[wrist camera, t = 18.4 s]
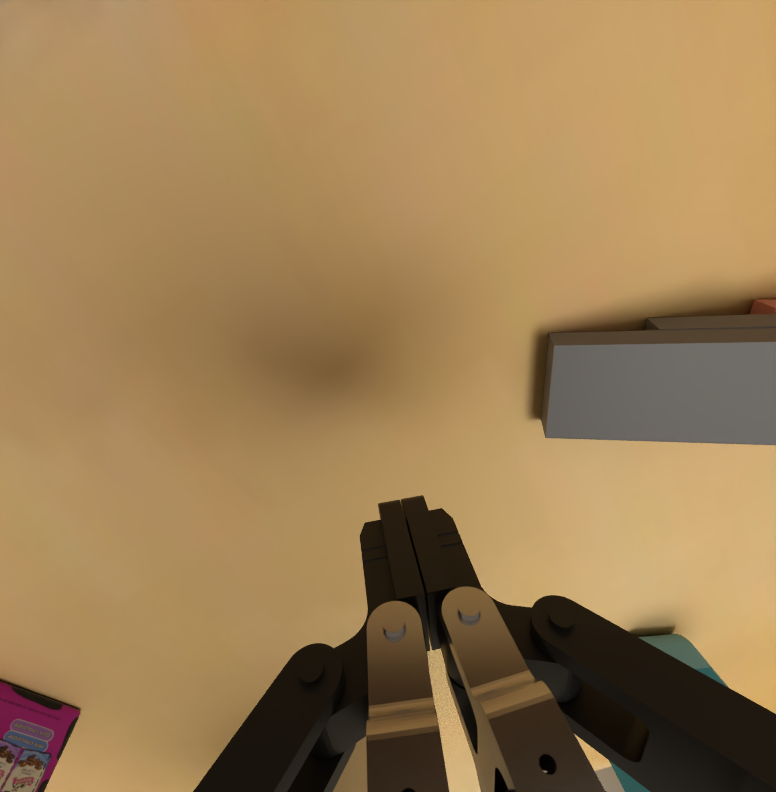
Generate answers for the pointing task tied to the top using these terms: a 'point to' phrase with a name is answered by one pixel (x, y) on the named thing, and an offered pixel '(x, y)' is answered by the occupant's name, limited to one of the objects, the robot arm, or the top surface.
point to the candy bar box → (31, 738)
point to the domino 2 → (662, 386)
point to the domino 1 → (712, 322)
